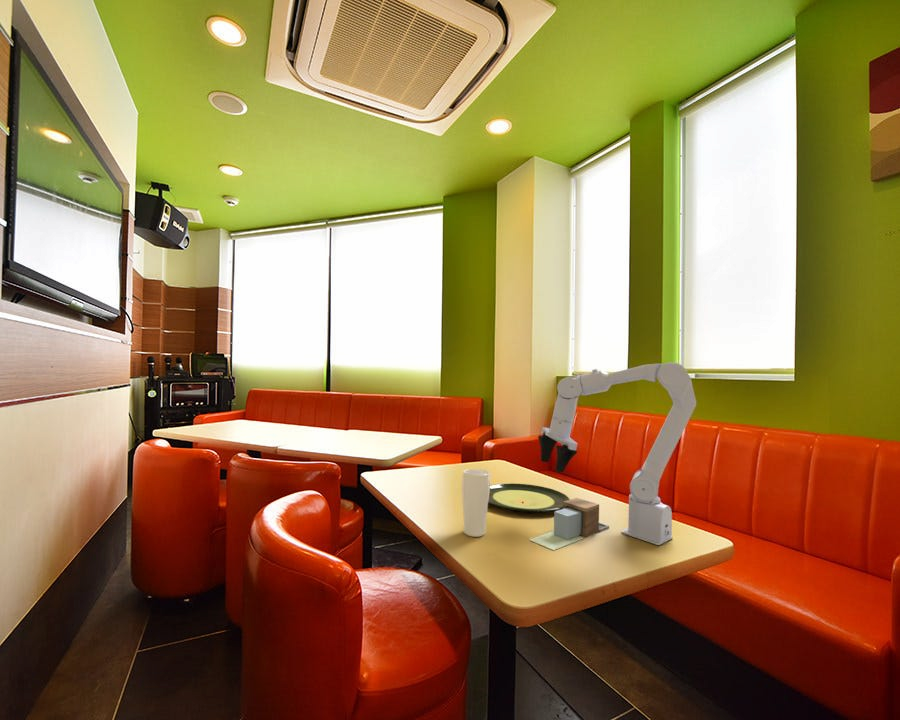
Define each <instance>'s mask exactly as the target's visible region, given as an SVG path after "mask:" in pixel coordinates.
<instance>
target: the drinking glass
mask: <svg viewBox="0 0 900 720" xmlns="http://www.w3.org/2000/svg"><path fill="white" fill-rule="evenodd" d="M490 485H491V472H490V471H488V470H486V469H482V468H467V469H464V470H462V482H461V486H462V487H461V491H462V510H463V511H462V512H463V513H462V515H463V533H464V534H465V535H466V536H468V537H472V538H478V537H479V538H480V537H483V536H484V535H485V534H486V529H487V528H486V526H487V525H486V524H487V515H488V507H489V503H488V500H489V491H490Z"/></svg>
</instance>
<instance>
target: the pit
mask: <svg viewBox="0 0 900 720" xmlns="http://www.w3.org/2000/svg"><path fill="white" fill-rule="evenodd" d="M609 529H610V525H607V524H604V523H601V522H599V532H598V533H601V532H603V531H606V530H609Z"/></svg>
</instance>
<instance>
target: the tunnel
mask: <svg viewBox="0 0 900 720" xmlns="http://www.w3.org/2000/svg"><path fill="white" fill-rule="evenodd" d="M568 507H572V508H575V509H578V510H581V511H583V534H581V535H582V536H581V537H583V538H588V537H590V536H593V535H595V534H598V533H600V532H599V523H600V504H599V503H596V502H593V501H589V500H585V499H582V498H578V497H575V498H572V499H571V498H570V500H567V501H564V502H563V508H562V509H565V508H568Z"/></svg>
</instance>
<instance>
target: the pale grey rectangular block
mask: <svg viewBox="0 0 900 720" xmlns="http://www.w3.org/2000/svg"><path fill="white" fill-rule="evenodd" d="M553 512H554V513H553V514H554V516H553V517H554V518H553V520H554V521H553V531H554V535H557V536H560V537H562V538H565V539H567V540H568V539H570V538H573V537H576V536H580V535H583V511H581V510H578V509H575V508H572V507H568V508H565V509H563V508H561V509H558V510H555V511H553Z"/></svg>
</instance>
